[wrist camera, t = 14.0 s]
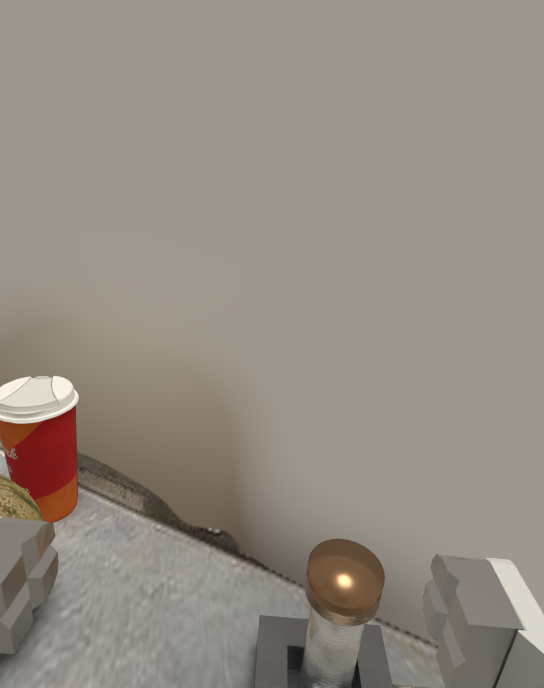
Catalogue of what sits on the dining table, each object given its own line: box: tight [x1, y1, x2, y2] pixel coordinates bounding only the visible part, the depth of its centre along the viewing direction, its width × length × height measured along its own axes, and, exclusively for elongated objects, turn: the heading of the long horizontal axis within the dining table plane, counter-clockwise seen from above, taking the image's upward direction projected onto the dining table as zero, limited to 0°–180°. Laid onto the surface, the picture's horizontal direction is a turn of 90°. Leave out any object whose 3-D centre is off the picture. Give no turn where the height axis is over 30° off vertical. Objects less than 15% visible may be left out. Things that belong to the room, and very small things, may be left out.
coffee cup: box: [0, 376, 79, 523], centre depth 49 cm, size 8×8×15 cm
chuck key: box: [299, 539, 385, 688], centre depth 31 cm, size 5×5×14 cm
